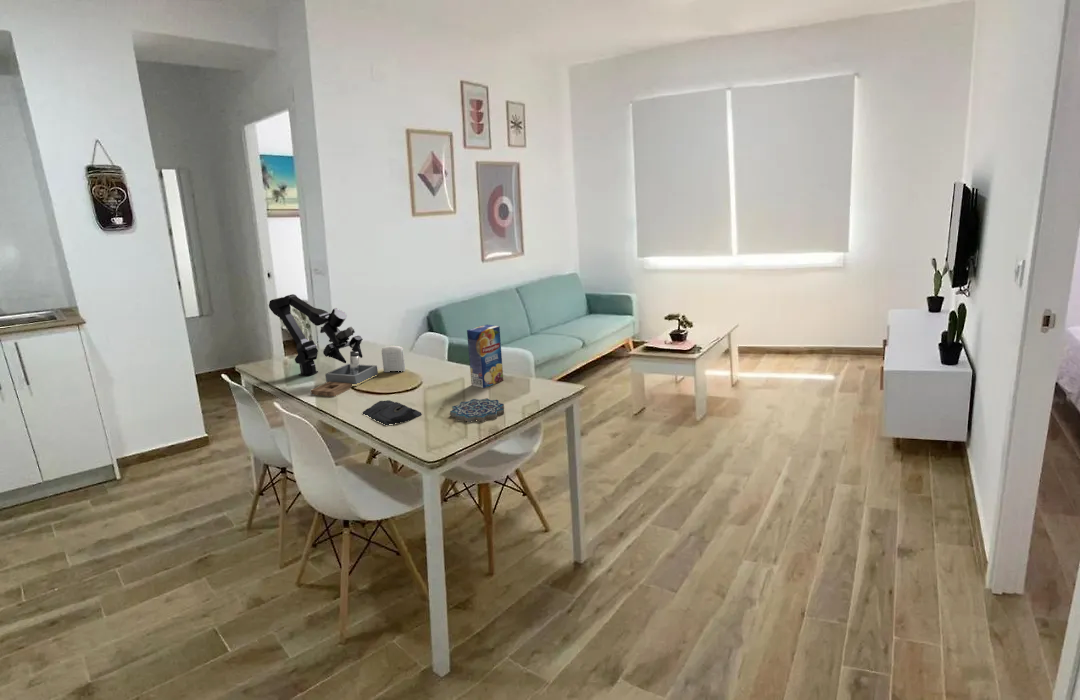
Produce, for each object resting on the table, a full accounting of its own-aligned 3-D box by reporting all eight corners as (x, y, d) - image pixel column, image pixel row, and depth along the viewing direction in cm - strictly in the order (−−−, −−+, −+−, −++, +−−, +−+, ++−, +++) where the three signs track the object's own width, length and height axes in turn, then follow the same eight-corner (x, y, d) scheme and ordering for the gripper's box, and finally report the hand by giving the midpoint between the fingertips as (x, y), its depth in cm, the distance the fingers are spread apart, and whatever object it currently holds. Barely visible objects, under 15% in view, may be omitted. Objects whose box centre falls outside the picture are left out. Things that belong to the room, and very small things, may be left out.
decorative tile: (485, 426, 216) (484, 420, 215) (440, 419, 225) (439, 412, 225) (514, 407, 233) (514, 402, 232) (471, 401, 242) (471, 395, 242)
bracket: (311, 394, 260) (310, 390, 259) (330, 385, 271) (329, 381, 270) (334, 396, 256) (333, 392, 255) (352, 387, 266) (351, 383, 266)
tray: (326, 384, 273) (325, 373, 272) (349, 373, 287) (348, 363, 286) (356, 386, 267) (355, 376, 266) (378, 375, 282) (376, 365, 281)
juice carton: (483, 388, 256) (479, 332, 250) (471, 385, 261) (466, 330, 255) (503, 380, 265) (499, 326, 259) (491, 377, 270) (487, 324, 263)
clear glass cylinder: (349, 378, 275) (349, 352, 272) (351, 376, 279) (351, 350, 276) (357, 379, 275) (357, 353, 272) (359, 376, 279) (359, 351, 276)
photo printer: (406, 369, 289) (403, 344, 285) (404, 372, 285) (401, 346, 281) (385, 370, 290) (382, 344, 287) (382, 372, 286) (379, 347, 282)
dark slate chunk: (394, 403, 245) (392, 392, 243) (424, 416, 229) (423, 404, 228) (359, 414, 235) (357, 403, 233) (388, 429, 219) (387, 416, 218)
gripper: (323, 327, 265) (344, 354, 262) (357, 318, 280) (377, 343, 277) (314, 343, 271) (334, 369, 268) (347, 333, 286) (367, 358, 283)
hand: (354, 359), depth 274 cm, fingers open, 9 cm apart
